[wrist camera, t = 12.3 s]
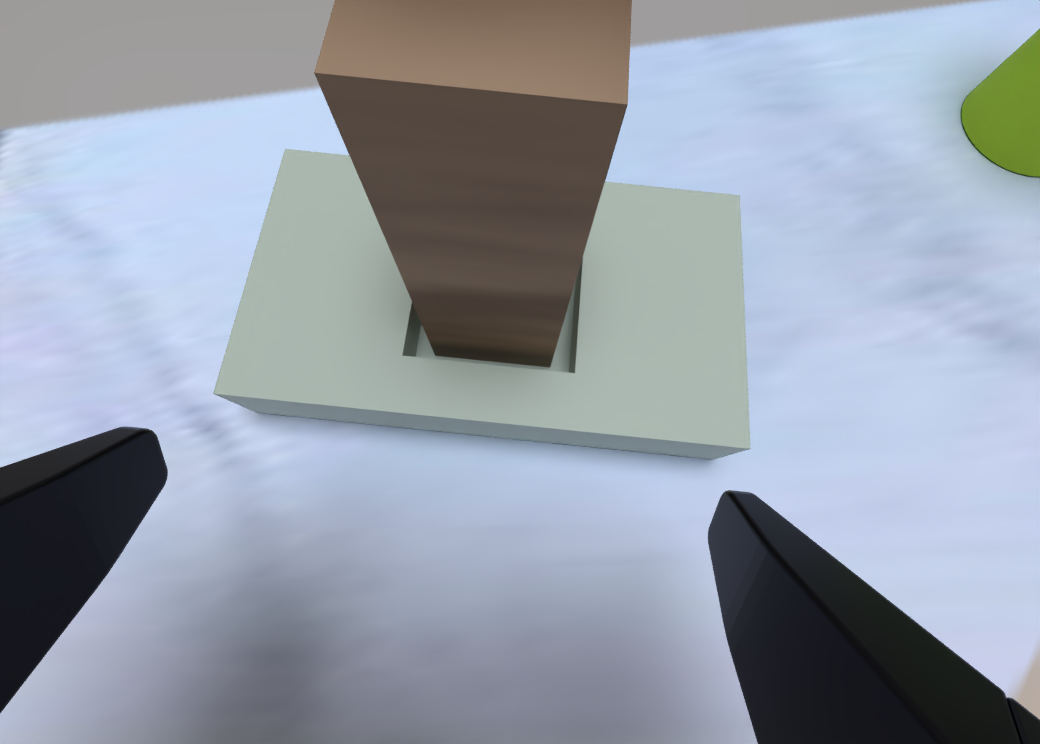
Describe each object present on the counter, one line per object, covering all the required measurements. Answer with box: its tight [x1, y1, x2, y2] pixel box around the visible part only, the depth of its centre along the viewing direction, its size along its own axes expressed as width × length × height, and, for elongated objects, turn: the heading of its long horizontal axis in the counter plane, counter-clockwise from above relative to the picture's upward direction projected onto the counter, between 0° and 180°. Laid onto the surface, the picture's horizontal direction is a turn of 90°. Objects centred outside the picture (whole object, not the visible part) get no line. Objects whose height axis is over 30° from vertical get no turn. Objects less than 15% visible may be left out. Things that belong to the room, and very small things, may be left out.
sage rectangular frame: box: [213, 149, 750, 459], centre depth 19 cm, size 18×10×3 cm, turn 84°
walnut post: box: [314, 0, 632, 367], centre depth 14 cm, size 4×4×12 cm
